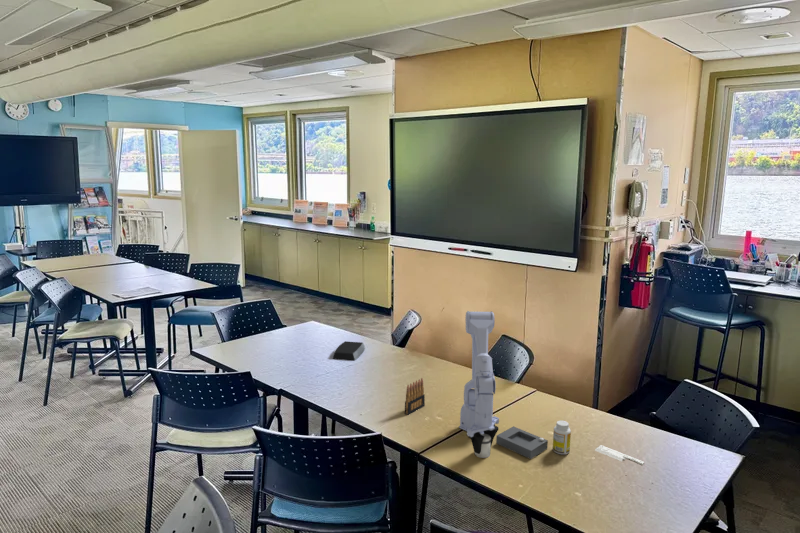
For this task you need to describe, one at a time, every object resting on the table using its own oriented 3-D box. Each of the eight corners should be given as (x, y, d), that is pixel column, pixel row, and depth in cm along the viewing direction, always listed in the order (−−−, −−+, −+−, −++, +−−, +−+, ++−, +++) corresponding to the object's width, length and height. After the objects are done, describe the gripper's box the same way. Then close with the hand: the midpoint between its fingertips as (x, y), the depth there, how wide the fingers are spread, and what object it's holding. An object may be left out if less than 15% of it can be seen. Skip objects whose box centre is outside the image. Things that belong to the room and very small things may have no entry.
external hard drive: (366, 349, 288) (366, 341, 287) (356, 361, 269) (356, 353, 268) (343, 347, 290) (343, 339, 290) (331, 359, 272) (330, 351, 271)
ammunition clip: (421, 404, 220) (421, 376, 218) (424, 406, 219) (425, 377, 217) (404, 413, 212) (404, 384, 210) (408, 415, 211) (408, 385, 209)
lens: (470, 453, 183) (471, 437, 182) (481, 448, 187) (481, 431, 186) (483, 459, 179) (484, 443, 178) (493, 454, 183) (494, 437, 182)
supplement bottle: (565, 446, 188) (567, 418, 186) (572, 454, 183) (574, 426, 181) (549, 447, 188) (551, 419, 186) (556, 455, 182) (557, 427, 180)
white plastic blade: (637, 470, 175) (637, 467, 174) (593, 452, 185) (593, 449, 185) (644, 464, 178) (644, 461, 178) (600, 446, 189) (601, 444, 189)
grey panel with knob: (496, 443, 190) (496, 433, 189) (513, 434, 197) (513, 424, 196) (530, 459, 180) (531, 449, 179) (547, 448, 187) (547, 438, 186)
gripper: (479, 422, 172) (478, 461, 175) (507, 408, 182) (505, 446, 185) (462, 415, 177) (461, 453, 180) (489, 402, 187) (488, 438, 190)
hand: (482, 449), depth 183 cm, fingers closed on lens, 5 cm apart
